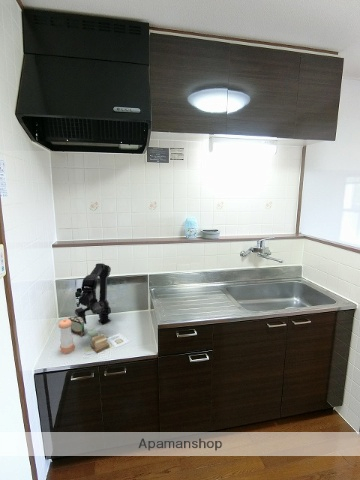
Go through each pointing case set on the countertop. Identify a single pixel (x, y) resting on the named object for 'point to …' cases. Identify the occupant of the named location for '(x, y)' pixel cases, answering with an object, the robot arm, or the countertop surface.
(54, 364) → the countertop surface
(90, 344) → the walnut base
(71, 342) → the pepper shaker
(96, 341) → the oak brick
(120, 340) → the page
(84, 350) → the countertop surface
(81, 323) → the food container
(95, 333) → the sage brick
